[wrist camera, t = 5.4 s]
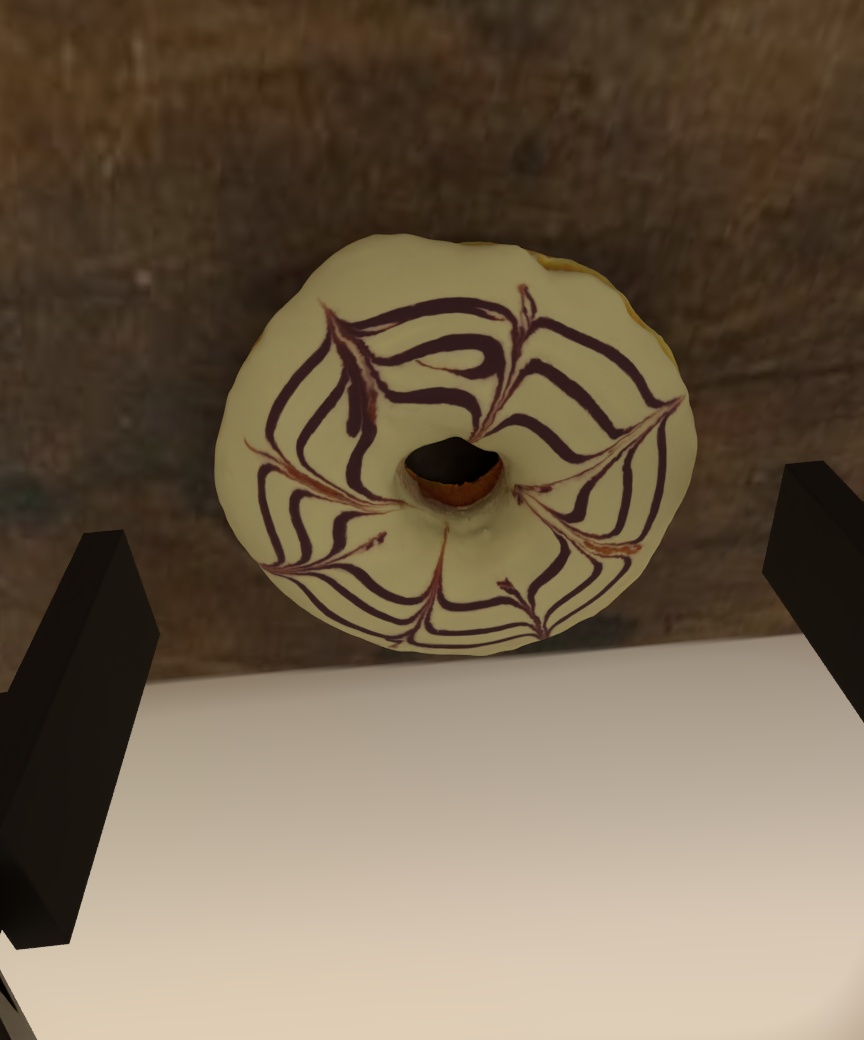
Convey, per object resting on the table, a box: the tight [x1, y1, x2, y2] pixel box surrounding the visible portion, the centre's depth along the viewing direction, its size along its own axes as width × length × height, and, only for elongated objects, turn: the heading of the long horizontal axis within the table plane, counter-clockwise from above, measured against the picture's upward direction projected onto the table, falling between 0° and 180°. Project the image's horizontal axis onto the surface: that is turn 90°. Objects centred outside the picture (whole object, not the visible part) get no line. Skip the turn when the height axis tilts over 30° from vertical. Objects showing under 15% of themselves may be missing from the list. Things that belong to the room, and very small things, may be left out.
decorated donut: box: [214, 233, 698, 656], centre depth 19 cm, size 10×11×4 cm
